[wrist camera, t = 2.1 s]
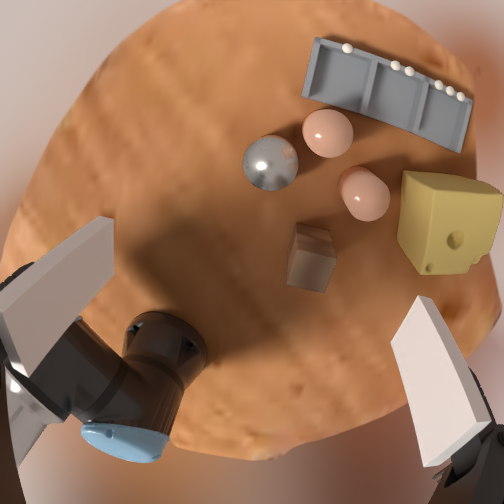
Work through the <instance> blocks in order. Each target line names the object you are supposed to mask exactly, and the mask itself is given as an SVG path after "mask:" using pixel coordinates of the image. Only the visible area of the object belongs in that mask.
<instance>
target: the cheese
mask: <svg viewBox="0 0 504 504" xmlns="http://www.w3.org/2000/svg"><path fill="white" fill-rule="evenodd" d="M503 196H504V195H503V194H502V193H501V192H500V191H499V190H498V189H496V188H494V187H493V186H491V185H490V184H487V183H485V182H482V181H478V180H474V179H469V178H466V177H463V176H457V175H450V174H443V173H432V172H417V171H406V170H403V173H402V185H401V207H400V217H399V225H398V232H397V241H398V243H399V245H400V247H401V248H402V250H403V252H404V253H405V254H406V256H407V257H408V258H409V260H410V261H411V263H412V264H413V266H414V267H415V269H416V270H417V271H418V272H419V274H420V275H445V274H461V273H467V272H468V270H469V268H470V266H471V264H478V262H479V260H480V258H481V257H482V256H483V255H487V254H488V253H489V252H490V250H491V247H492V245H493V241H494V238H495V234H496V231H497V228H498V225H499V221H500V217H501V213H502V208H503Z"/></svg>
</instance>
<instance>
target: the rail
mask: <svg viewBox="0 0 504 504" xmlns="http://www.w3.org/2000/svg"><path fill="white" fill-rule="evenodd" d="M301 97H303V98H307V99H311V100H315V101H319V102H322V103H326V104H330V105H333V106H336V107H340V108H343V109H346V110H350V111H353V112H356V113H359V114H362V115H365V116H368V117H371V118H374V119H376V120H379V121H382V122H385V123H387V124H390V125H393V126H395V127H398V128H401V129H403V130H406V131H408V132H411V133H413V134H415V135H418V136H420V137H422V138H425V139H427V140H429V141H432V142H434V143H436V144H438V145H440V146H443V147H445V148H447V149H449V150H451V151H454V152H457V153H460V152H461V148H462V145H463V141H464V137H465V133H466V129H467V125H468V121H469V117H470V112H471V107H472V103H473V101H472V100H470V99H469V98H467V97H465V95H464V94H463V93H462V92H456V91H454V89H453V87H451V86H448V87H447V86H445V85H443V83H442V82H441V81H440V80H437V81H435V80H433V79H431V78H429V77H427V76H424V75H422V74H420V73H418V72H416V71H414V69H413V68H412V67H410V66H408V67H404V66H402V65H400V63H399V62H398V61H390V60H387V59H384V58H382V57H379V56H376V55H374V54H371V53H368V52H365V51H362V50H359V49H356V48H353V47H352V45H350V44H348V43H346V44H344V45H343V44H340V43H336V42H333V41H329V40H326V39H322V38H318V37H315V39H314V43H313V47H312V51H311V56H310V60H309V64H308V69H307V73H306V77H305V82H304V86H303V90H302V95H301Z"/></svg>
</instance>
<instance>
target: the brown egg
mask: <svg viewBox="0 0 504 504" xmlns="http://www.w3.org/2000/svg"><path fill="white" fill-rule="evenodd" d="M338 190H339V193H340V195H341V197H342V199H343V201H344V203H345V204H346V206H347V208H348V210H349V211H350V213H351V214H352V215H353V216H354V217H355V218H357V219H359V220H361V221H374V220H376V219H378V218H380V217H381V216H383V215H384V214H385V212H386V211H387V209H388V207H389V204H390V192H389V189H388V187H387V186H386V184H385V183H384V182H383V181H381V180H380V179H379V178H378V177H377V176H375V175H374V174H373V173H372V172H370V171H369V170H368V169H366V168H364V167H360V166H354V167H350V168H348V169H347V170H345V171H344V172H343V173H342V175H341V176H340V178H339V181H338Z"/></svg>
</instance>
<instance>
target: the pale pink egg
mask: <svg viewBox="0 0 504 504" xmlns="http://www.w3.org/2000/svg"><path fill="white" fill-rule="evenodd" d="M302 135H303V138H304V139H305V141H306V143H307V145H308V146H309V148H310V149H311V150H312V151H313V152H314V153H316V154H317V155H320V156H322V157H327V158H333V157H337V156H340V155H342V154H343V153H345V152H346V151H347V150H348V149H349V147H350V146H351V144H352V141H353V128H352V125H351V123H350V121H349V120H348V119H347V118H346V117H345V116H344V115H343V114H342V113H340V112H338V111H335V110H330V109H324V110H316V111H313V112H311V113H310V114H309V115H307V117H306V118H305V119H304V121H303V124H302Z"/></svg>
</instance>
